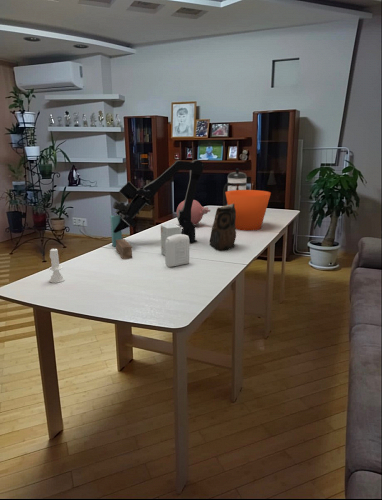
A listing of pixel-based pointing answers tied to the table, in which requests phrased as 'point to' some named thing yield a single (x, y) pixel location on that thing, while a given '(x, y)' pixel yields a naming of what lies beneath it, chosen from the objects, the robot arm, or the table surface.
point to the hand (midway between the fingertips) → (113, 231)
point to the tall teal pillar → (114, 223)
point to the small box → (168, 234)
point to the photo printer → (176, 250)
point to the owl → (224, 228)
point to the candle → (55, 267)
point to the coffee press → (234, 183)
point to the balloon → (195, 211)
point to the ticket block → (124, 248)
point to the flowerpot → (248, 208)
